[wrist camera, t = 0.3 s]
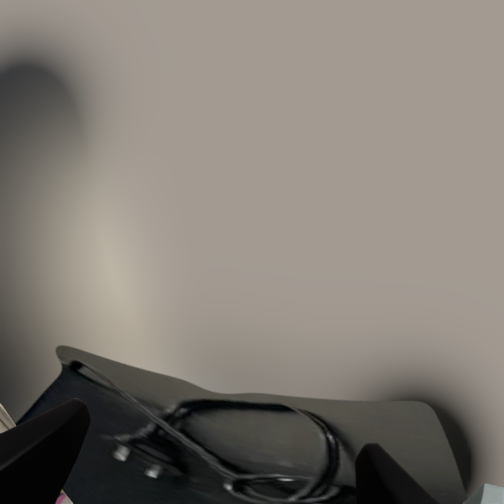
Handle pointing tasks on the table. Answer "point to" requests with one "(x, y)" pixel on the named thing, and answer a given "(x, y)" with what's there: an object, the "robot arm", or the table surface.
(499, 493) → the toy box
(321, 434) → the table surface
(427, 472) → the table surface
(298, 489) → the table surface
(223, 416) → the table surface
